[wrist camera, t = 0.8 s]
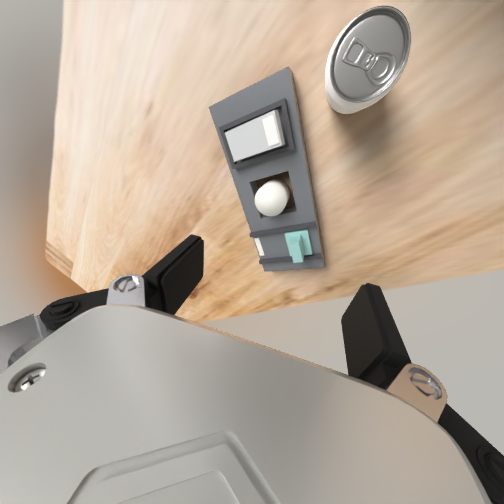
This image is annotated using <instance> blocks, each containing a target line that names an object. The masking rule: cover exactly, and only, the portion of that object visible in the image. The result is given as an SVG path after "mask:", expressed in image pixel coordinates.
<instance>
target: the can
mask: <svg viewBox="0 0 504 504" xmlns="http://www.w3.org/2000/svg"><path fill="white" fill-rule="evenodd" d="M410 44H411V32H410V27H409V23H408V21H407V19H406V17H405V16H404V15H403V13H402V12H400V11H399V10H398V9H396V8H394V7H390V6H377V7H374V8H371V9H368V10H366V11H365V12H363V13H361V14H360V15H358V16H357V17H355V18H354V19H353V20H352V21H351V22H349V23H348V24H347V25H346V27H345V28H344V29H343V30H342V31H341V33H340V34H339V35H338V37H337V39H336V40H335V42H334V44H333V46H332V48H331V50H330V53H329V56H328V59H327V63H326V69H325V88H326V97H327V100H328V103H329V105H330V106H331V107H332V108H333V109H334V110H335V111H336V112H338V113H342V114H351V113H355V112H358V111H360V110H362V109H365V108H367V107H369V106H371V105H373V104H374V103H376V102H378V101H379V100H380V99H382V98H383V97H384V96H385V95H386V94H387V93H388V92H389V91H390V90H391V89H392V88H393V87H394V85H395V84H396V83H397V81H398V80H399V78H400V76H401V74H402V73H403V71H404V68H405V66H406V63H407V60H408V57H409V52H410Z"/></svg>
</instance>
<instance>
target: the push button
mask: <svg viewBox="0 0 504 504" xmlns="http://www.w3.org/2000/svg"><path fill="white" fill-rule="evenodd" d="M289 196H290V192H289V188H288V187H287V185H286V184H285V183H284V182H283V181H281V180H277V179H273V180H269V181H268V182H266V183H265V184H264V185H263V186H262V187H261V188H260V189H259V190H258V191H257V193H256V195H255V205H256V207H257V209H258V210H259V212H261V213H262V214H264V215H266V216H276V215H278V214H280V213H281V212H282V211H283V209H284V208H285V206H286V204H287V202H288V200H289Z"/></svg>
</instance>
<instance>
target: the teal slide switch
mask: <svg viewBox="0 0 504 504" xmlns="http://www.w3.org/2000/svg"><path fill="white" fill-rule="evenodd" d="M285 238H286V242H287V246H288V250H289V253H290V257H291V256H292V259H293V263H298V262H303V260H304V255H311V254H312V253H313V252H312V247H311V242H310V237H309V232H308V228H306V229H300V230H294V231H287V232H285Z"/></svg>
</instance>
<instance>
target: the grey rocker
mask: <svg viewBox="0 0 504 504" xmlns="http://www.w3.org/2000/svg"><path fill="white" fill-rule="evenodd" d="M225 135H226V138H227V141H228V145H229V148H230V151H231V154H232V157H233V160H234V162H235V161H238V160H241V159H244V158H247V157H249V156H252V155H255V154H258V153H261V152H264V151H267V150H270V149H273V148H276V147H279V146H282V145H284V144H285V141H284V136H283V132H282V127H281V122H280V118H279V113H278V110H273V111H271V112H269V113H267V114H265V115H262V116H260V117H258V118H256V119H254V120H251V121H249V122H247V123H245V124H243V125H241V126H238V127H236V128H234V129H232V130H230V131H228V132H225Z"/></svg>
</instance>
